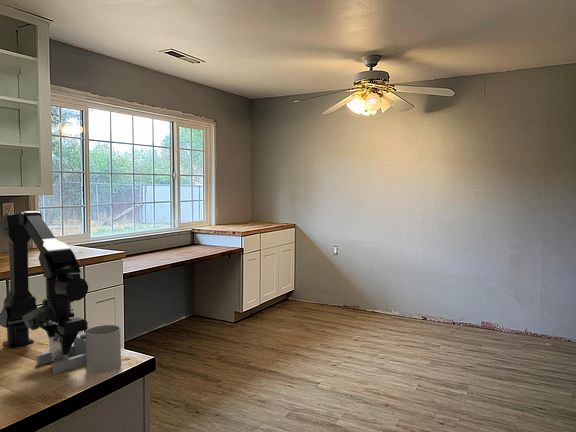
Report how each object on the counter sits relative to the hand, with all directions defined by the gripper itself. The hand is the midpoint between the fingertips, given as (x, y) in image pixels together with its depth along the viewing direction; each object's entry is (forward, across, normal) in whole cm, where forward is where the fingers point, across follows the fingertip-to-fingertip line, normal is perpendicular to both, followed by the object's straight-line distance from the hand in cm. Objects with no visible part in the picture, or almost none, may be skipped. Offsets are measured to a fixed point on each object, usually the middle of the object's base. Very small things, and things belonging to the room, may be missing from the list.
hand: (60, 352), depth 121 cm
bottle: (+1, 0, 0) cm, 1 cm away
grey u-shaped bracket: (+3, 0, +3) cm, 4 cm away
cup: (+3, +11, +6) cm, 13 cm away
